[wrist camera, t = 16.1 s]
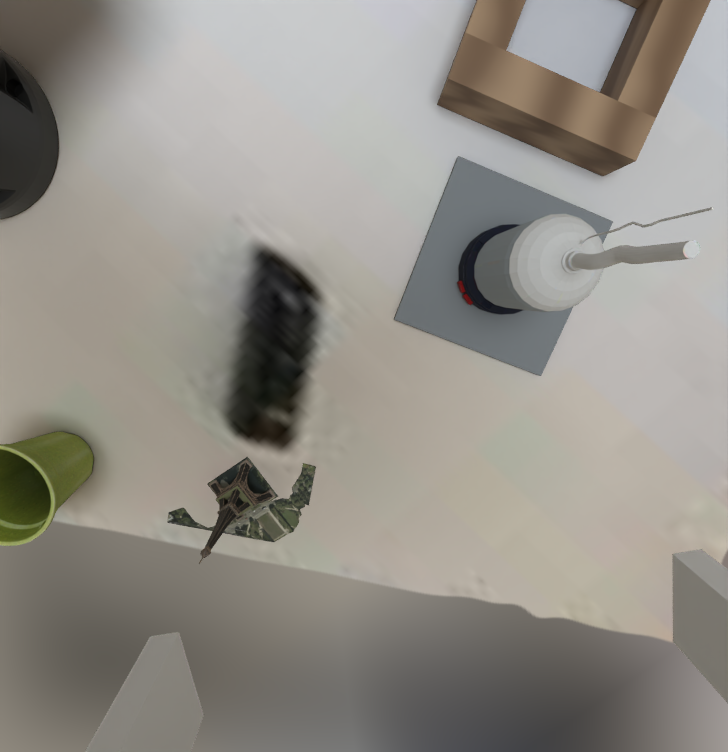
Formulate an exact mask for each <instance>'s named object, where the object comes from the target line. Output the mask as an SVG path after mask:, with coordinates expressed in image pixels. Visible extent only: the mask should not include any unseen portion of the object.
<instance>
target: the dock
mask: <svg viewBox="0 0 728 752" xmlns="http://www.w3.org/2000/svg"><path fill="white" fill-rule="evenodd" d="M525 1H526V0H476V3H475V6H474V8H473V11H472V14H471V16H470V19H469V22H468V24H467V27H466V30H465V32H464V35H463V38H462V40H461V43H460V46H459V48H458V51H457V53H456V56H455V59H454V61H453V64H452V67H451V69H450V72H449V75H448V77H447V80H446V83H445V85H444V88H443V91H442V93H441V96H440V99H439V101H438V104H437V105H439V106H441V107H444V108H446V109H448V110H451V111H453V112H455V113H457V114H460V115H462V116H464V117H467V118H469V119H471V120H474V121H476V122H478V123H481V124H483V125H485V126H488V127H490V128H492V129H495V130H497V131H499V132H501V133H504V134H506V135H508V136H511V137H513V138H515V139H518V140H520V141H522V142H525V143H527V144H529V145H532V146H534V147H536V148H538V149H541V150H543V151H545V152H548V153H550V154H552V155H555V156H557V157H559V158H562V159H564V160H566V161H569V162H571V163H573V164H576V165H578V166H580V167H582V168H585V169H587V170H589V171H592V172H594V173H596V174H599V175H601V176H605V175H607V174H609V173H611V172H613V171H615V170H617V169H620V168H622V167H624V166H626V165H628V164H630V163H632V162H635V161H636V160H637V157H638V155H639V153H640V151H641V149H642V147H643V145H644V142H645V140H646V138H647V136H648V134H649V132H650V129H651V127H652V125H653V123H654V121H655V119H656V117H657V114H658V112H659V110H660V108H661V106H662V104H663V102H664V99H665V97H666V95H667V93H668V91H669V89H670V86H671V84H672V82H673V80H674V78H675V76H676V74H677V71H678V69H679V67H680V65H681V63H682V61H683V59H684V56H685V54H686V52H687V50H688V48H689V46H690V44H691V41H692V39H693V37H694V35H695V33H696V31H697V28H698V26H699V24H700V22H701V20H702V18H703V16H704V13H705V11H706V9H707V7H708V5H709V3H710V1H711V0H620V1H622V2H624V3H626V4H628V5H630V6H632V7H635V8H637V10H636V12H635V14H634V16H633V19H632V21H631V23H630V26H629V28H628V30H627V32H626V35H625V37H624V39H623V42H622V44H621V46H620V48H619V51H618V53H617V55H616V57H615V60H614V62H613V64H612V67H611V69H610V71H609V73H608V76H607V78H606V80H605V83H604V85H603V87H602V89H601V92H600V93H599V92H597V91H595V90H593V89H590V88H588V87H586V86H584V85H581V84H579V83H577V82H575V81H573V80H570V79H568V78H566V77H564V76H561V75H559V74H557V73H555V72H553V71H550V70H548V69H546V68H544V67H541V66H539V65H537V64H535V63H532V62H530V61H528V60H526V59H524V58H521V57H519V56H517V55H515V54H512V53H510V52H508V51H506V49H507V47H508V44H509V42H510V39H511V37H512V34H513V32H514V29H515V27H516V24H517V21H518V19H519V16H520V14H521V11H522V9H523V6H524V4H525Z"/></svg>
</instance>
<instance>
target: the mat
mask: <svg viewBox="0 0 728 752" xmlns="http://www.w3.org/2000/svg"><path fill="white" fill-rule="evenodd" d="M551 214H568V215H572V216H575V217H578V218H581V219H582V220H583V221H585V222H586V223H587V224H589V225H590V226H592V227H593V229H594V230H595V231H596V233H597V234H599V233H603V232H607V231H609V229H610V227H611V225H612V223H613V221H610V220H608V219H606V218H603V217H601V216H599V215H596V214H594V213H592V212H589V211H587V210H585V209H582V208H580V207H577V206H575V205H573V204H570V203H568V202H566V201H563V200H561V199H559V198H556V197H554V196H551V195H549V194H547V193H544V192H542V191H540V190H537V189H535V188H533V187H530V186H528V185H526V184H523V183H521V182H518V181H516V180H514V179H511V178H509V177H507V176H504V175H502V174H500V173H497V172H495V171H492V170H490V169H488V168H485V167H483V166H481V165H478V164H476V163H474V162H471V161H469V160H467V159H464V158H462V157H459V156H458V158H457V160H456V162H455V165H454V168H453V170H452V173H451V175H450V178H449V180H448V183H447V185H446V188H445V190H444V193H443V196H442V198H441V201H440V203H439V206H438V208H437V211H436V213H435V216H434V218H433V221H432V224H431V226H430V229H429V231H428V234H427V236H426V239H425V241H424V244H423V246H422V249H421V252H420V254H419V257H418V259H417V262H416V264H415V267H414V269H413V272H412V274H411V277H410V280H409V282H408V285H407V287H406V290H405V292H404V295H403V297H402V300H401V302H400V305H399V308H398V310H397V313H396V315H395V318H394V320H397V321H400V322H402V323H405V324H407V325H410V326H412V327H415V328H418V329H420V330H423V331H425V332H428V333H431V334H433V335H436V336H438V337H441V338H444V339H446V340H449V341H451V342H454V343H456V344H459V345H462V346H464V347H467V348H469V349H472V350H475V351H477V352H480V353H482V354H485V355H488V356H490V357H493V358H495V359H498V360H500V361H503V362H506V363H508V364H511V365H513V366H516V367H519V368H521V369H524V370H526V371H529V372H532V373H534V374H537V375H539V376H541V375H542V373H543V370H544V368H545V366H546V364H547V362H548V360H549V358H550V355H551V353H552V351H553V349H554V347H555V345H556V343H557V340H558V338H559V336H560V334H561V332H562V330H563V328H564V325H565V323H566V321H567V319H568V317H569V315H570V313H571V311H572V308H573V307H570V308H568V309H565V310H562V311H552V312H539V311H530V310H523V311H520V312H518V313H515V314H503V315H499V314H493V313H490V312H486V311H483V310H480V309H479V308H477V307H476V306H474V305H473V304H471V305H469V304H468V303H467V302H466V300H465V299H464V298H463V296H462V295H464V294H463V293H461V292H460V289H459V286H458V283H457V282H458V281H459V269H458V266H459V263H460V260H461V257H462V253H463V252H464V250H465V249H466V247H467V246H468V244H469V243H470V242H471V241H472V240H473V239H474V238H476V237H477V236H478V235H479V234H481V233H482V232H484V231H487V230H489V229H491V228H494V227H497V226H499V225H507V224H518V225H522V224H525V223H527V222H529V221H532V220H535V219H537V218H540V217H542V216H545V215H551ZM607 234H608V233H607ZM607 234H603V235H599V237H600V239H601V241H602V244H603V242H604V240H605V238H606V236H607Z"/></svg>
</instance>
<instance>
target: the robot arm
mask: <svg viewBox="0 0 728 752" xmlns="http://www.w3.org/2000/svg"><path fill="white" fill-rule="evenodd" d="M57 155H58V135H57V128H56V123H55V119H54V116H53V112H52V110H51V107H50V105H49V102H48V100H47V98H46V96H45V94H44V93H43V91H42V89H41V88H40V86H39V85H38V83H37V82H36V81H35V79H34V78H33V77H32V76H31V75H30V73H29V72H28V71H27V70H26V69H25V68H24V67H23V66H22V65H21V64H19V63H18V62H17V61H16V60H15V59H13V58H12V57H10V56H9V55H7V54H6V53H4V52H3V51H1V50H0V219H3V218H7V217H10V216H13V215H16V214H18V213H20V212H22V211H24V210H25V209H27V208H28V207H30V206H31V205H32V204H33V203H34V202H36V201H37V200H38V198H39V197H40V196H41V195H42V194H43V193H44V191H45V190H46V188H47V186H48V185H49V183H50V181H51V178H52V176H53V173H54V170H55V167H56V162H57ZM673 642H674V643H675V644H676V646H677V647H678V648H679V649H680V650H681V651H682V652H683V653H684V654H685V655H686V657H687V658H688V659H689V660H690V661H691V662H692V664H693V665H694V666H695V667H696V668H697V669H698V670H699V671H700V673H701V674H702V675H703V676H704V677H705V678H706V679H707V680H708V682H709V683H710V684H711V685H712V686H713V687H714V688H715V689H716V691H717V692H718V693H719V694H720V695H721V696H722V697H723V698H724V699H725V700H726V702H727V703H728V569H727V568H725V567H724V566H723V565H721V564H720V563H719V562H717V561H716V560H715V559H714V558H712V557H711V556H710V555H708V554H707V553H706V552H704V551H703V550H702V549H700V550H694V551H688V552H681V553H675V554H673ZM202 718H203V711H202V708H201V705H200V701H199V698H198V695H197V691H196V688H195V685H194V681H193V678H192V675H191V672H190V668H189V664H188V661H187V658H186V655H185V651H184V648H183V644H182V641H181V638H180V634H179V632H175V633H169V634H163V635H156V636H150V638H149V640H148V641H147V643H146V645H145V647H144V648H143V650H142V652H141V654H140V655H139V657H138V659H137V661H136V663H135V664H134V666H133V668H132V670H131V671H130V673H129V675H128V677H127V678H126V680H125V682H124V684H123V685H122V687H121V689H120V691H119V693H118V694H117V696H116V698H115V700H114V702H113V703H112V705H111V707H110V708H109V710H108V712H107V714H106V716H105V717H104V719H103V721H102V723H101V725H100V726H99V728H98V730H97V732H96V733H95V735H94V737H93V739H92V740H91V742H90V744H89V746H88V747H87V749H86V751H85V752H191V750H192V748H193V745H194V742H195V739H196V736H197V733H198V730H199V727H200V724H201V721H202Z"/></svg>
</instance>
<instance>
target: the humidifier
mask: <svg viewBox="0 0 728 752" xmlns="http://www.w3.org/2000/svg"><path fill="white" fill-rule="evenodd" d="M713 209H714V208H713V207H711V208H707V209H703V210H699V211H695V212H691V213H686V214H682V215H678V216H674V217H670V218H665V219H661V220H658V221H656V222H654V223H651V224H647V225H642V224H639V223H636V222H631V223H628V224H626V225H624V226H622V227H620V228H617V229H614V230H611V231H607V232H603V233H599V234H597V233H596V231H595V230H594V229H593V227H592V226H590V225H589V224H587V223H586V222H585V221H583V220H582V219H581V218H578V217H575V216H572V215H568V214H551V215H545V216H542V217H540V218H537V219H535V220H532V221H529V222H527V223H525V224H522V225H518V224H507V225H499V226H497V227H494V228H491V229H489V230H487V231H484V232H482V233H481V234H479V235H478V236H477V237H476V238H474V239H473V240H472V241H471V242H470V243H469V244H468V246H467V247H466V249H465V250H464V252H463V253H462V257H461V260H460V263H459V266H458V269H459V281H458V282H457V283H458V286H459V289H460V292H461V293H463V294H464V295H462V296H463V298H464V299H465V300H466V302H467V303H468V304H469V305H471V304H473V305H474V306H476V307H477V308H479V309H480V310H483V311H486V312H490V313H493V314H499V315H503V314H515V313H518V312H520V311H523V310H530V311H539V312H552V311H562V310H565V309H568V308H570V307H573V306H576V305H577V304H579V303H580V302H581V301H582V300H584V299H585V298H586V297H588V296H589V294H590V293H591V292H592V290H593V289H594V288H595V286H596V285H597V284H598V282H599V280H600V278H601V275H602V272H603V269H604V268H606V267H609V266H612V265H615V264H618V263H621V262H624V263H629V264H643V263H651V262H662V261H673V260H683V259H691V258H695V257H696V256H697V255H698V254H699V252H700V245H699V243H698V242H696V241H686V242H679V243H670V244H660V245H651V246H642V247H633V246H628V245H624V246H618V247H615V248H612V249H609V250H607V251H604V249H603V245H602V241H601V239H600V237H599V235H603V234H607V233H611V232H614V231H618V230H620V229H622V228H624V227H626V226H629V225H631V224H635V225H638V226H641V227H648V226H652V225H654V224H657V223H659V222H662V221H666V220H671V219H675V218H679V217H683V216H688V215H692V214H696V213H700V212H704V211H709V210H713Z"/></svg>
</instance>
